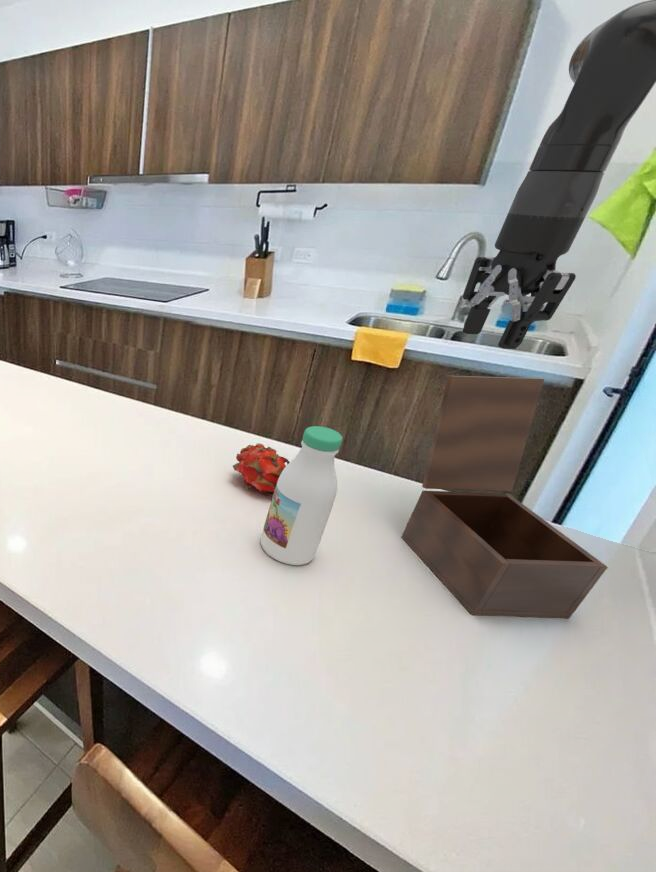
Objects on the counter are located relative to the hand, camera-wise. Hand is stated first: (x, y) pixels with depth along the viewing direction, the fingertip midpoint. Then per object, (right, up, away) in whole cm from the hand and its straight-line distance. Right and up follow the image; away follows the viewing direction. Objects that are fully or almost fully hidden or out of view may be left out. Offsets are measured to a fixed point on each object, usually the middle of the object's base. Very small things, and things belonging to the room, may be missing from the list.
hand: (487, 340), depth 71 cm
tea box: (-1, -34, +1) cm, 34 cm away
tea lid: (0, -14, 0) cm, 14 cm away
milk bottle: (-27, -31, +4) cm, 41 cm away
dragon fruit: (-25, -23, +19) cm, 39 cm away
